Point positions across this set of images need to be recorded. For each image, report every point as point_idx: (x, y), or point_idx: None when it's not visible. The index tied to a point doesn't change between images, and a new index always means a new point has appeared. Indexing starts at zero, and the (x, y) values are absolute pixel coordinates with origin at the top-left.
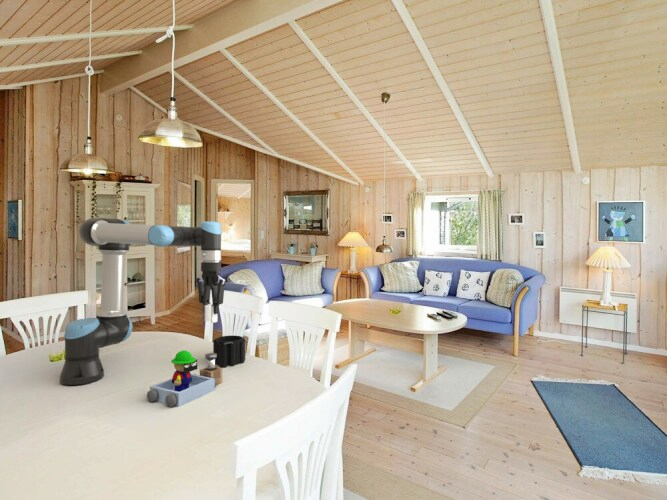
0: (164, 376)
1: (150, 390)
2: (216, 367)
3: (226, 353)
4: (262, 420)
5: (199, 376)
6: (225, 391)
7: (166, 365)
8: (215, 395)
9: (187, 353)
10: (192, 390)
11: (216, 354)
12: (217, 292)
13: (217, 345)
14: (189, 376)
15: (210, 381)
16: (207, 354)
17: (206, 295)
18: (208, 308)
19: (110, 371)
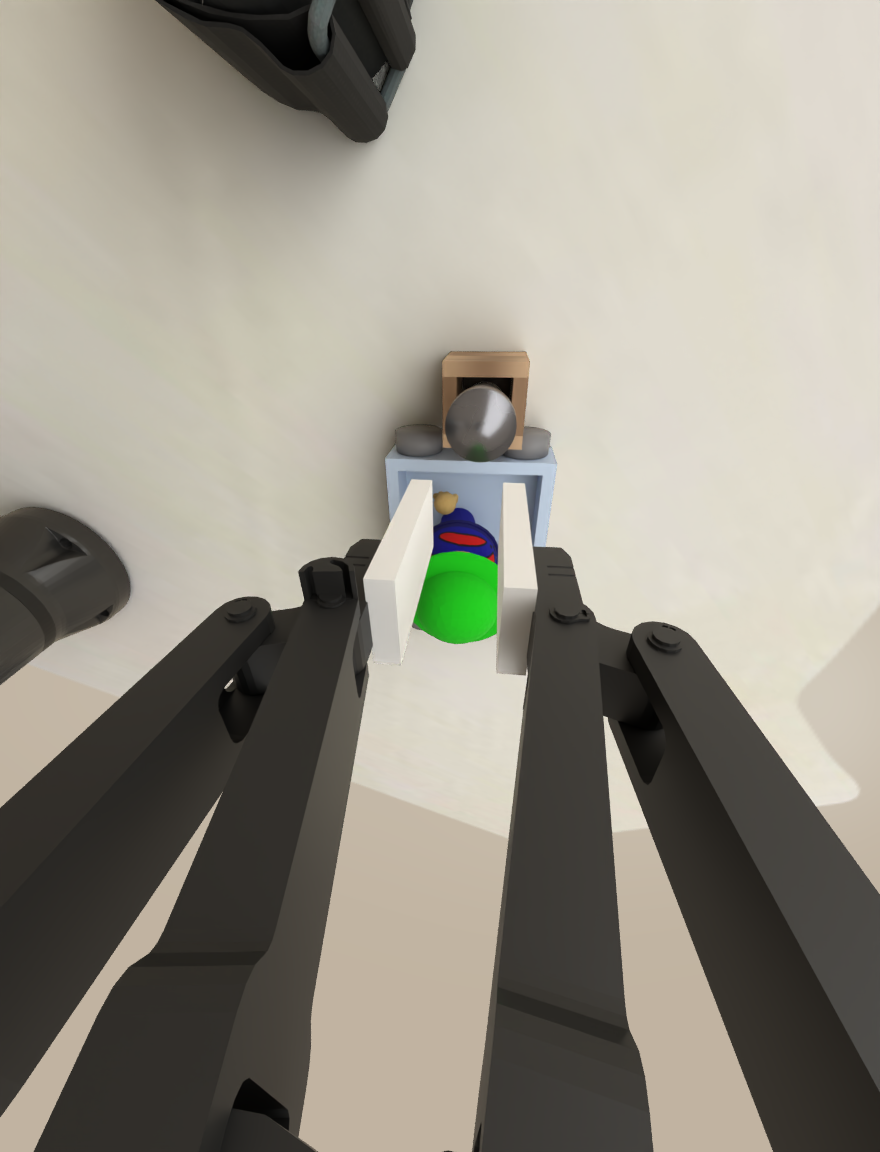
0: (227, 408)
1: (418, 628)
2: (492, 369)
3: (358, 60)
4: (865, 586)
5: (472, 470)
6: (603, 433)
7: (55, 262)
8: (587, 486)
9: (482, 626)
10: None
11: (512, 411)
12: (704, 946)
13: (234, 40)
14: (492, 560)
15: (553, 486)
16: (461, 438)
17: (344, 788)
18: (409, 596)
19: (15, 464)
